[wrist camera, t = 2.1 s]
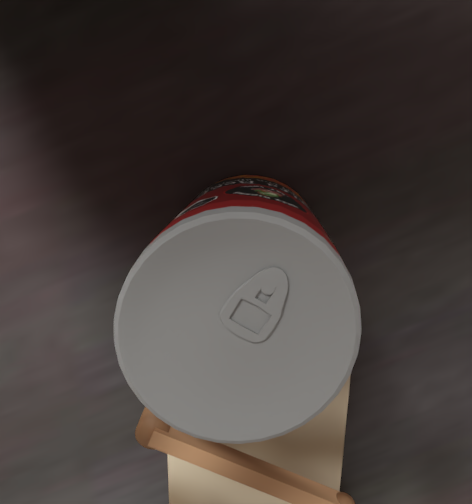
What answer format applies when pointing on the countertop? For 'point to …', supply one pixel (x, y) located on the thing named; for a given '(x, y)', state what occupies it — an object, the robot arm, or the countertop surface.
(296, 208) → the canned food
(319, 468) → the wooden zigzag stand
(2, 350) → the countertop surface
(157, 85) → the countertop surface
